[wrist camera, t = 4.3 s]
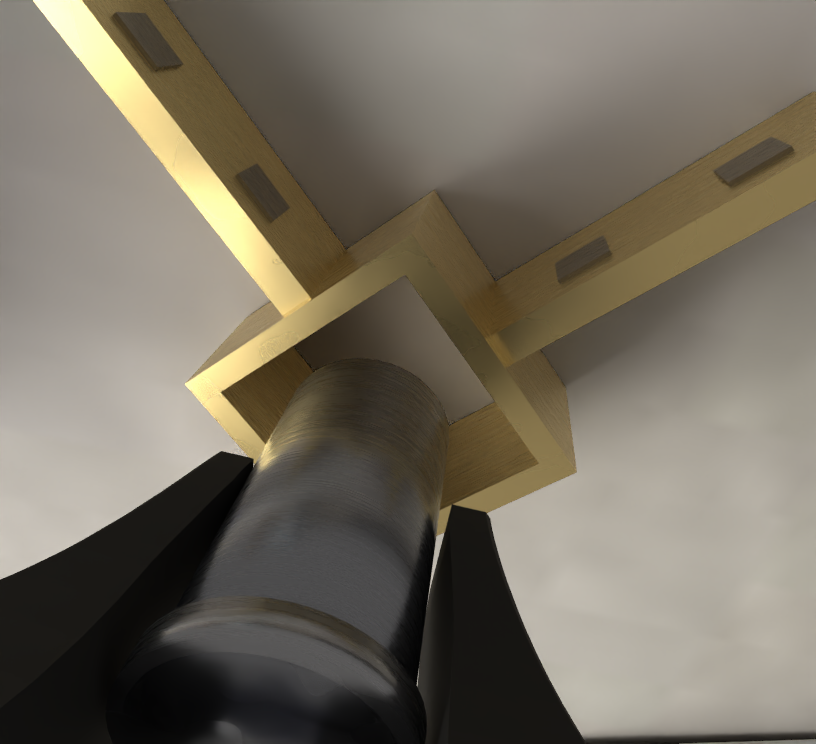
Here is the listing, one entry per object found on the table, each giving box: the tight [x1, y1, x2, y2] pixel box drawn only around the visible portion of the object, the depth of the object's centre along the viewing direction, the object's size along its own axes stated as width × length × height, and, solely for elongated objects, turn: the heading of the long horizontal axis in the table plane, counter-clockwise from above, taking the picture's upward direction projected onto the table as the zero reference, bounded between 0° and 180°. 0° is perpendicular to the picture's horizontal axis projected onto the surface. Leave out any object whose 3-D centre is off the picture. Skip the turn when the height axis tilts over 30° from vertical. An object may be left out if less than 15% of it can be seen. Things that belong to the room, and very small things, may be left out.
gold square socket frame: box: [33, 0, 816, 536], centre depth 14 cm, size 14×14×4 cm
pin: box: [106, 359, 449, 744], centre depth 11 cm, size 4×4×7 cm
